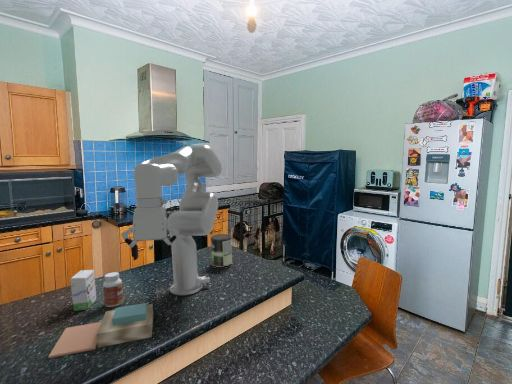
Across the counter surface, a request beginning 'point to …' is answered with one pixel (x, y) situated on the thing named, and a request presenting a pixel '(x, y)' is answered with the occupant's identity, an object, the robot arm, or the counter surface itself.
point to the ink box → (83, 289)
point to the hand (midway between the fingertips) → (152, 257)
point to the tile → (129, 314)
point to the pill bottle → (113, 290)
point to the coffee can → (221, 250)
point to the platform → (124, 329)
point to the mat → (76, 340)
